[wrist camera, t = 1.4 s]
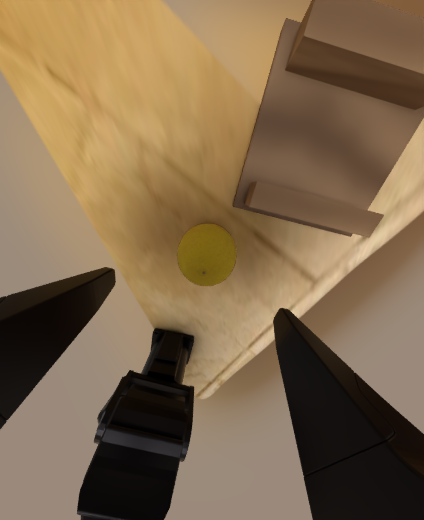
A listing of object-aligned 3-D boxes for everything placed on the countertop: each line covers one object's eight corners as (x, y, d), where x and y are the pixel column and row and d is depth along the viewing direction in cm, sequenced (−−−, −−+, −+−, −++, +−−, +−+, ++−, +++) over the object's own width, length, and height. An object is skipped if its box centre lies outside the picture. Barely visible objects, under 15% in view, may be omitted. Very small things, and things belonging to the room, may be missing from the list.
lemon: (208, 270, 21) (202, 314, 13) (177, 239, 19) (150, 269, 12) (242, 242, 19) (257, 276, 12) (211, 206, 17) (204, 218, 10)
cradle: (344, 234, 18) (376, 245, 14) (232, 205, 17) (236, 209, 14) (435, 79, 13) (521, 35, 9) (281, 30, 12) (307, -39, 8)
